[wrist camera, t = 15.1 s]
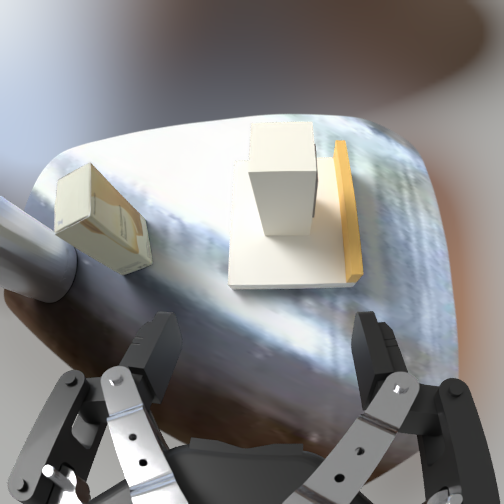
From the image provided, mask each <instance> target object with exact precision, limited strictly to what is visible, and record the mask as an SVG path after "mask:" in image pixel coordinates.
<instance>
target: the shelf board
mask: <svg viewBox="0 0 504 504" xmlns="http://www.w3.org/2000/svg"><path fill="white" fill-rule="evenodd" d="M248 165H249V160H244V161H235V162H234V178H233V194H232V211H231V230H230V249H229V271H228V286H229V287H230V288H231V289H307V288H342V287H353V286H354V285H355V284H356V282H357V281H358V280H359V279H360V278H361V276H362V275H363V264H362V253H361V243H360V233H359V225H358V217H357V209H356V202H355V195H354V188H353V182H352V176H351V170H350V164H349V158H348V153H347V148H346V142H345V141H339V140H336V142H335V149H334V156H333V157H328V158H317V170H318V188H317V197H316V206H315V215H314V217H312V223H311V232H310V236H265V235H264V231H263V227H262V224H261V220H260V216H259V212H258V208H257V204H256V200H255V197H254V193H253V189H252V185H251V181H250V178H249V174H248Z"/></svg>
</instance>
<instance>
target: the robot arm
mask: <svg viewBox="0 0 504 504" xmlns="http://www.w3.org/2000/svg"><path fill="white" fill-rule="evenodd" d="M76 267H77V256H76V251H75V248H74V246H72V245H70V244H69V243H67V242H66V241H64V240H62V239H61V238H59V237H58V236H56V235H55V234H54V231H53V230H51V229H50V228H49V227H47V226H45V225H44V224H42V223H41V222H39V221H38V220H36V219H35V218H33V217H31V216H30V215H28V214H27V213H25V212H24V211H22V210H21V209H19V208H18V207H16V206H15V205H13V204H12V203H10V202H9V201H8V200H6V199H5V198H3V197H2V196H0V287H2V288H5V289H8V290H11V291H13V292H16V293H19V294H22V295H25V296H28V297H30V298H34V299H37V300H40V301H43V302H46V303H53V302H56V301H58V300H60V299H61V298H62V297H63V296H64V295H65V294H66V293H67V291H68V290H69V288H70V286H71V285H72V282H73V280H74V277H75V273H76ZM351 348H352V355H353V360H354V365H355V370H356V375H357V380H358V386H359V391H360V397H361V402H362V408H363V410H366V411H365V412H364V413H363V415H362V414H361V415H360V416H359V417H358V418H357V419H356V421H355V422H354V423H353V425H352V426H351V427H350V429H349V430H348V431H347V433H346V434H345V435H344V437H343V438H342V439H341V440H340V442H339V443H338V444H337V446H336V447H335V448H334V449H333V450H332V452H331V453H330V454H329V455H328V457H327V458H326V459H324V458H323V457H321V456H319V455H317V454H314V453H311V452H307V451H303V444H272V445H266V446H261V447H255V448H249V449H243V448H240V447H236V446H233V445H230V444H227V443H223V442H220V441H217V440H208V439H199V438H192V437H191V441H190V444H188V445H182V446H178V447H175V448H172V449H169V447H168V446H167V444H166V442H165V440H164V438H163V436H162V434H161V432H160V430H159V428H158V425H157V423H156V421H155V419H154V416H153V414H152V412H151V410H150V406H151V404H152V403H158V404H161V402H162V399H163V397H164V394H165V391H166V389H167V386H168V383H169V381H170V378H171V376H172V373H173V370H174V368H175V365H176V363H177V360H178V358H179V355H180V352H181V350H182V336H181V332H180V329H179V325H178V322H177V318H176V315H175V313H174V312H157V313H156V315H155V317H154V319H153V320H152V322H147V323H146V324H144V325H143V326H142V327H141V328H140V329H139V331H138V332H137V334H136V336H135V338H134V339H133V341H132V344H131V345H130V346H129V348H128V350H127V352H126V353H125V355H124V357H123V359H122V361H121V362H120V364H119V366H115V367H112V368H110V369H108V370H107V371H105V372H104V374H103V375H102V377H96V378H85V376H84V374H83V373H82V372H81V371H79V370H71V371H68V372H66V373H64V374H63V375H62V376H61V377H60V379H59V380H58V382H57V384H56V385H55V387H54V389H53V391H52V392H51V394H50V396H49V398H48V400H47V401H46V403H45V405H44V407H43V409H42V411H41V413H40V414H39V416H38V418H37V420H36V422H35V424H34V426H33V428H32V430H31V432H30V434H29V436H28V438H27V440H26V442H25V444H24V446H23V448H22V450H21V452H20V454H19V456H18V459H17V461H16V463H15V465H14V467H13V470H12V472H11V474H10V477H9V479H8V489H9V492H10V494H11V495H12V497H14V498H15V499H16V500H18V501H19V502H21V503H23V504H373V503H372V502H371V501H370V500H369V499H367V497H365V496H364V495H363V494H362V493H361V492H360V491H359V490H360V489H361V488H362V486H363V485H364V484H365V482H366V481H367V479H368V478H369V476H370V475H371V474H372V472H373V471H374V469H375V468H376V466H377V465H378V463H379V462H380V460H381V459H382V457H383V455H384V454H385V452H386V451H387V449H388V447H389V446H390V444H391V442H392V441H393V439H394V437H395V436H396V434H397V432H400V433H408V434H416V435H417V439H418V445H419V451H420V457H421V464H422V471H423V479H424V488H425V497H426V501H425V502H424V503H422V504H500V499H499V493H498V488H497V483H496V478H495V473H494V469H493V465H492V461H491V457H490V453H489V449H488V445H487V441H486V438H485V435H484V431H483V428H482V425H481V422H480V419H479V415H478V412H477V409H476V407H475V404H474V401H473V398H472V396H471V392H470V390H469V388H468V386H467V385H466V384H465V383H464V382H463V381H461V380H459V379H456V378H450V379H446V380H444V381H443V382H442V383H441V385H440V386H431V385H424V384H420V383H419V382H418V380H417V379H416V378H415V377H414V376H413V375H411V374H409V373H408V371H407V369H406V366H405V363H404V360H403V357H402V354H401V352H400V349H399V347H398V344H397V341H396V340H395V336H394V333H393V330H392V329H391V328H390V327H389V326H388V325H387V324H386V323H385V322H379V323H378V322H377V319H376V316H375V313H374V312H373V311H369V312H357V313H356V316H355V322H354V328H353V334H352V341H351ZM77 414H79V415H78V417H77V419H76V421H75V424H74V426H73V428H72V425H73V423H74V420H75V418H76V416H77ZM107 423H108V426H109V430H110V433H111V436H112V439H113V443H114V446H115V449H116V452H117V454H118V458H119V460H120V463H121V466H122V469H123V471H124V474H125V477H126V479H124V480H123V481H121V482H119V483H118V484H116V485H115V486H113V487H111V488H110V489H108V490H107V491H105V492H103V493H102V494H100V495H98V496H97V497H95V498H93V499H92V500H91V497H90V495H89V494H90V490H89V486H88V484H87V483H86V481H87V478H88V475H89V472H90V469H91V466H92V463H93V461H94V458H95V455H96V452H97V450H98V447H99V444H100V441H101V439H102V436H103V434H104V431H105V428H106V426H107Z"/></svg>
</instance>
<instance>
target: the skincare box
mask: <svg viewBox="0 0 504 504" xmlns="http://www.w3.org/2000/svg"><path fill="white" fill-rule="evenodd" d="M54 234H55V235H56V236H58V237H59V238H61V239H62V240H64V241H66V242H67V243H69V244H70V245H72V246H74V247H75V248H77V249H78V250H80V251H82V252H83V253H85V254H87V255H88V256H90V257H92V258H93V259H95V260H97V261H98V262H100V263H102V264H104V265H105V266H107V267H109V268H110V269H112V270H114V271H116V272H117V273H119V274H121V275H125V274H128V273H131V272H134V271H137V270H139V269H142V268H145V267H147V266H149V265H152V263H153V262H152V255H151V248H150V241H149V235H148V230H147V225H146V220H145V218H144V217H143V216H142V215H141V214H140V213H139V212H138V211H137V210H136V209H135V208H134V207H133V206H132V205H131V204H130V203H129V202H128V201H127V200H126V199H125V198H124V197H123V196H122V195H121V194H120V193H119V192H118V191H117V190H116V189H115V188H114V187H113V186H112V185H111V184H110V183H109V182H108V181H107V180H106V178H105V177H104V176H103V175H102V174H101V173H100V172H99V171H98V170H97V169H96V168H95V167H94V166H93V165H92V164H91V163H88V164H86V165H84V166H82V167H80V168H78V169H76V170H74V171H73V172H71V173H69V174H67V175H65V176H64V177H62V178H60V179H59V180H58V181H57V188H56V199H55V218H54Z"/></svg>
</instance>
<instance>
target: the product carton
mask: <svg viewBox="0 0 504 504" xmlns="http://www.w3.org/2000/svg"><path fill="white" fill-rule="evenodd" d="M248 174H249V178H250V181H251V185H252V189H253V193H254V197H255V200H256V204H257V208H258V212H259V216H260V220H261V224H262V227H263V231H264V235H265V236H310V232H311V223H312V217H314V215H315V206H316V197H317V188H318V170H317V158H316V146H315V144H314V134H313V124H312V122H269V123H251V136H250V150H249V165H248Z"/></svg>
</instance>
